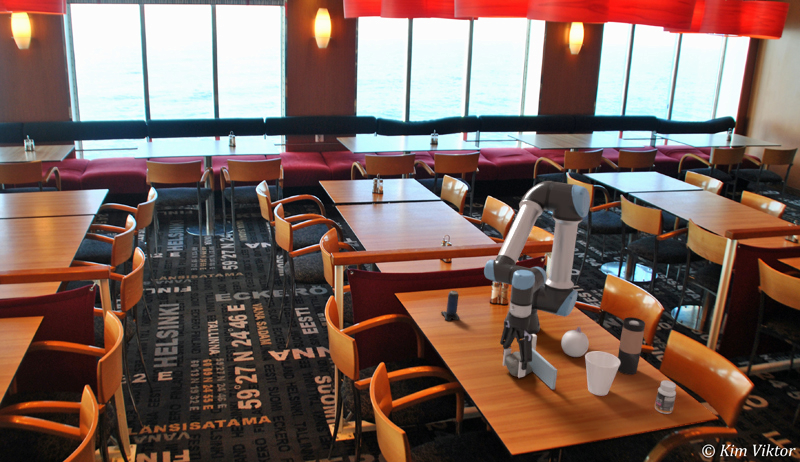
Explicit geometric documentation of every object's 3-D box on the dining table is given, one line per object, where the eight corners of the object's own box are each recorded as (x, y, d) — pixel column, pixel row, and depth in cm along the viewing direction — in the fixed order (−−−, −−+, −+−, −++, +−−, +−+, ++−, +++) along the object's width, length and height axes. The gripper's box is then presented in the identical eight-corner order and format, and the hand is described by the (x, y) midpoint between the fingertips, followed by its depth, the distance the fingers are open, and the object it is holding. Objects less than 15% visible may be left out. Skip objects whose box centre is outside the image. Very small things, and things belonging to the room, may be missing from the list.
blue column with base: (462, 319, 274) (464, 294, 270) (446, 322, 271) (448, 296, 267) (453, 311, 282) (455, 286, 278) (437, 313, 279) (439, 288, 275)
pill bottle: (651, 405, 214) (656, 379, 211) (667, 405, 214) (672, 379, 211) (659, 414, 208) (664, 388, 206) (675, 414, 209) (680, 388, 206)
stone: (538, 375, 229) (532, 356, 224) (517, 387, 227) (511, 368, 222) (525, 361, 236) (519, 342, 231) (505, 373, 235) (498, 354, 230)
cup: (610, 403, 214) (615, 370, 210) (576, 392, 220) (580, 360, 216) (619, 388, 223) (624, 357, 220) (586, 378, 229) (590, 347, 226)
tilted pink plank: (531, 357, 243) (534, 333, 240) (534, 359, 242) (537, 335, 239) (523, 359, 241) (525, 335, 238) (525, 361, 240) (528, 337, 237)
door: (519, 358, 240) (521, 338, 238) (525, 358, 241) (527, 338, 239) (551, 389, 220) (554, 367, 217) (557, 388, 221) (560, 366, 218)
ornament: (588, 352, 249) (592, 325, 245) (584, 363, 240) (588, 335, 236) (562, 346, 253) (566, 319, 249) (557, 357, 244) (561, 329, 241)
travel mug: (637, 367, 239) (645, 319, 233) (637, 376, 232) (645, 327, 226) (616, 363, 241) (623, 315, 236) (615, 372, 234) (623, 323, 229)
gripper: (493, 303, 229) (488, 359, 236) (530, 327, 211) (523, 386, 218) (510, 300, 232) (504, 355, 239) (547, 323, 214) (540, 382, 221)
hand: (513, 370), depth 228 cm, fingers closed on stone, 8 cm apart
